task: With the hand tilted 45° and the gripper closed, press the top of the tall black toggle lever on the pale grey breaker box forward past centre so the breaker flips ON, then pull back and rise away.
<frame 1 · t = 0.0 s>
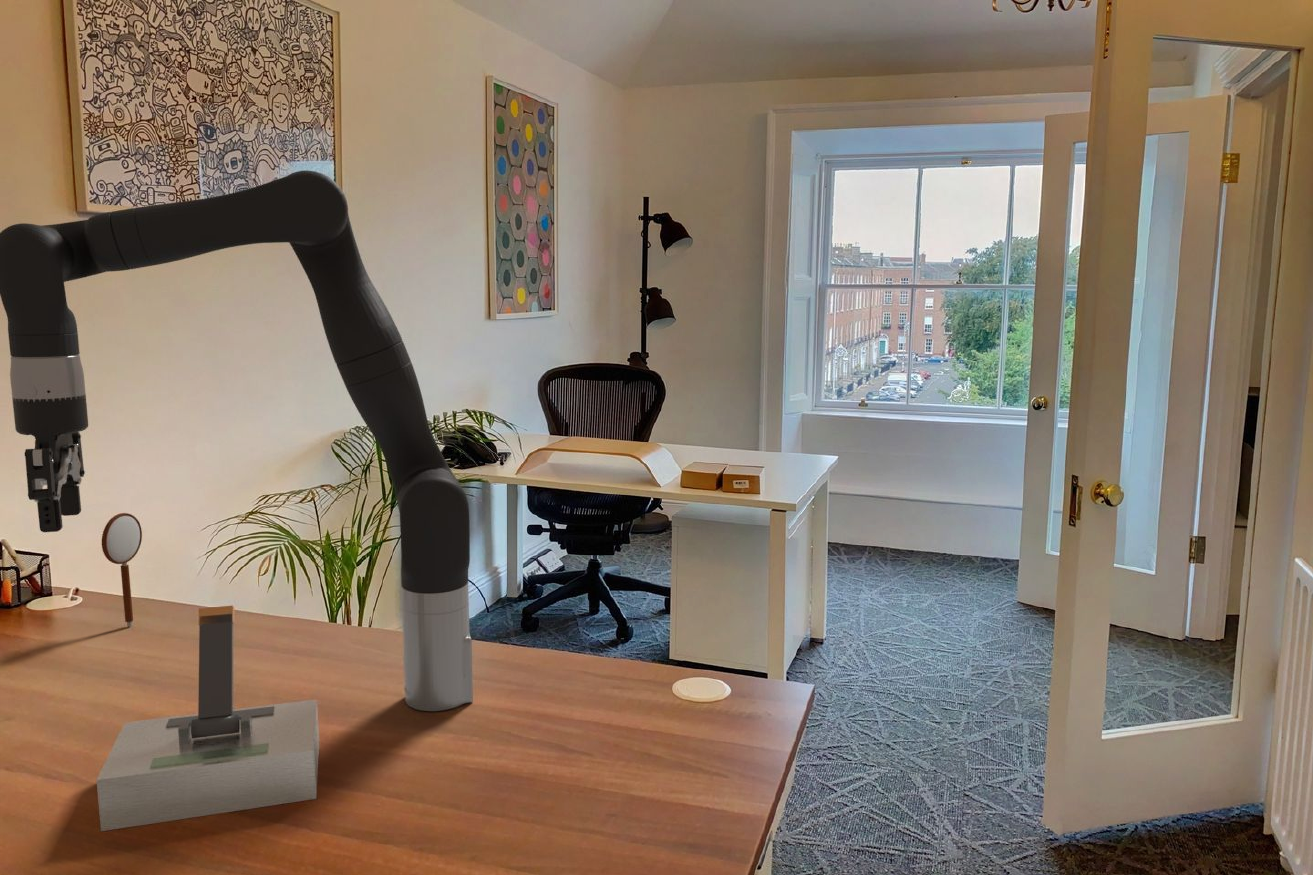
hand: (61, 522, 116), 29 cm above the table, fingers open, 8 cm apart
breaker box: (219, 782, 112), on the table
breaker lever: (216, 670, 113), point 13 cm above the table, hinge at -30.0°
magnifying glass: (129, 627, 161), on the table
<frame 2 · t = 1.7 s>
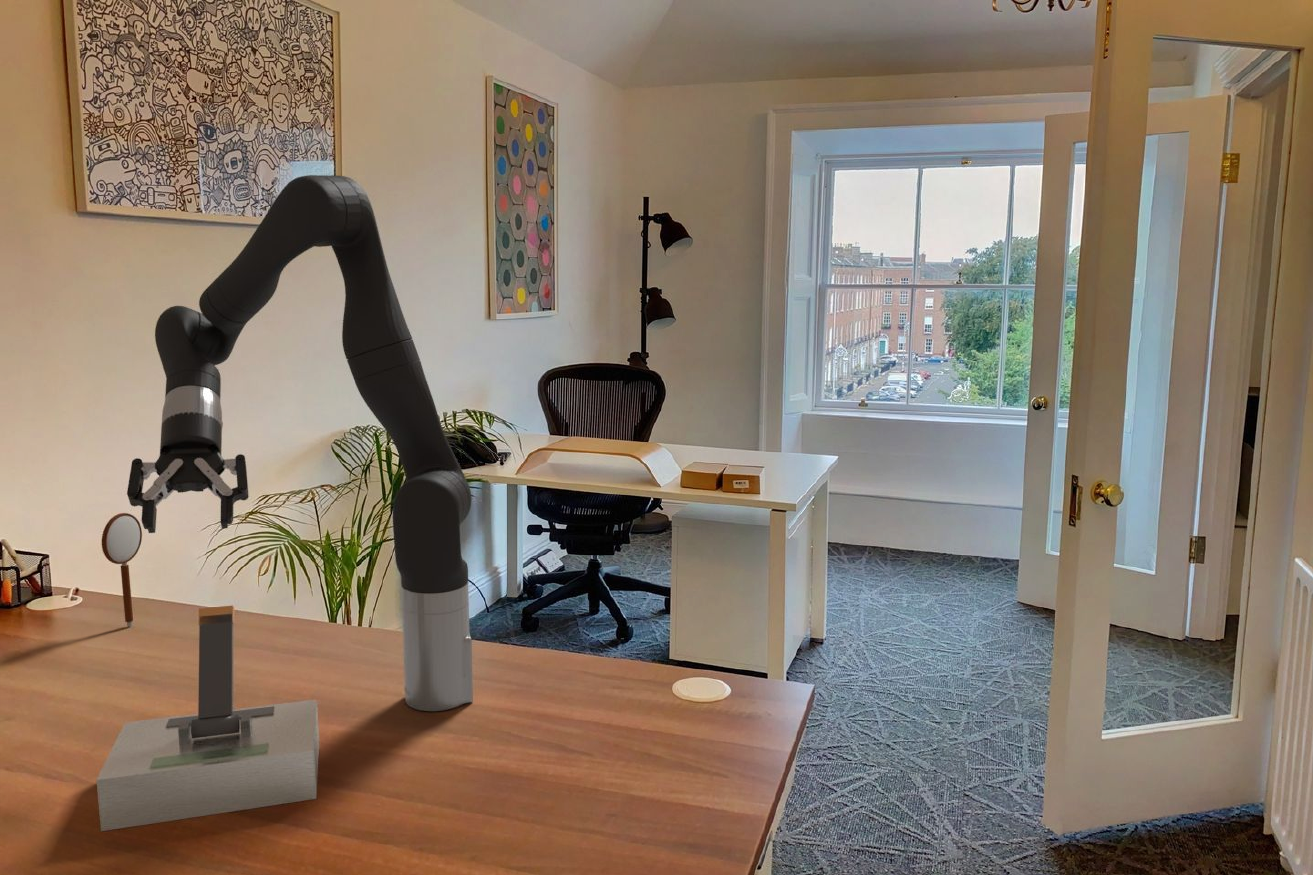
hand: (188, 527, 121), 27 cm above the table, fingers open, 8 cm apart
nothing on the table moved.
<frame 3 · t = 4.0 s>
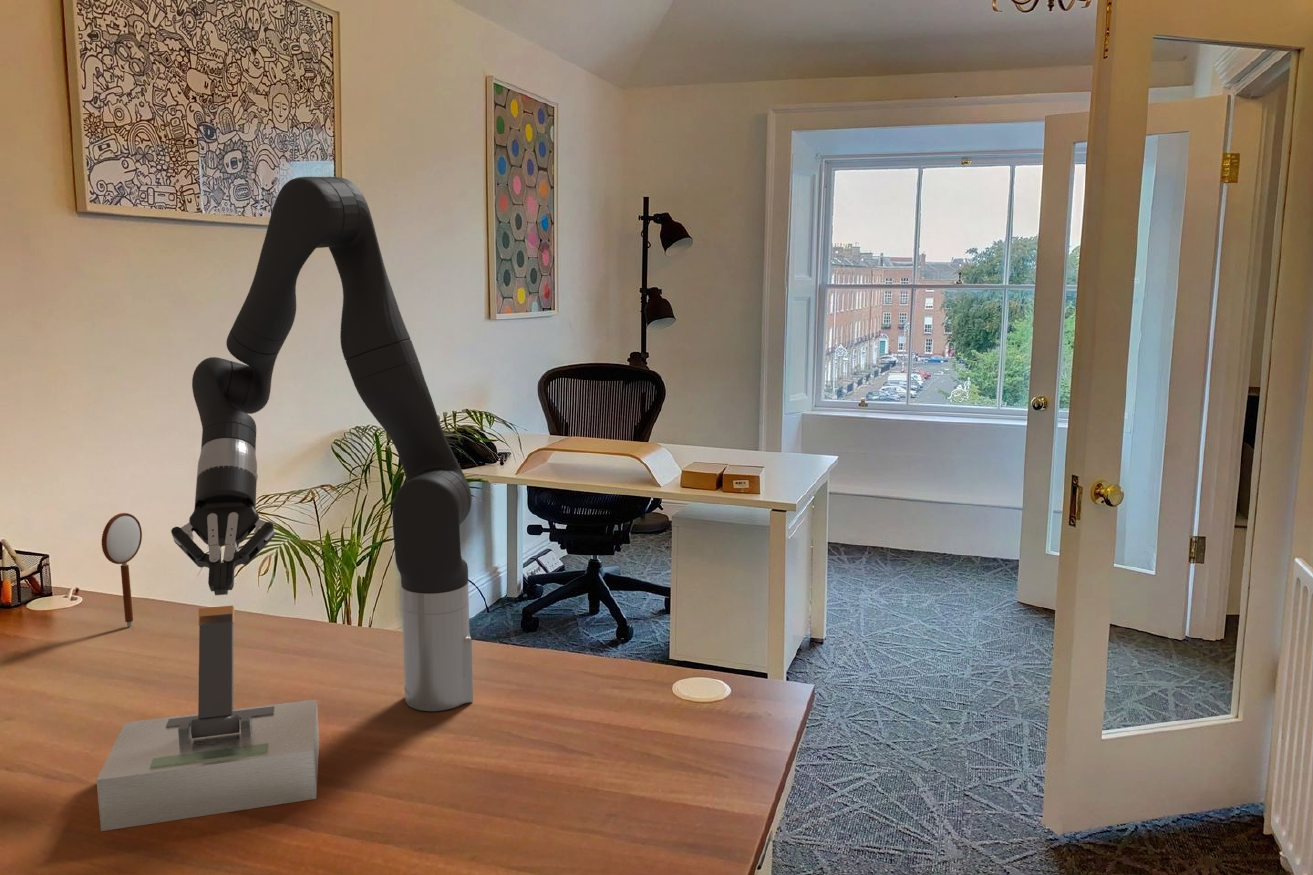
hand: (220, 592, 120), 20 cm above the table, fingers closed
nothing on the table moved.
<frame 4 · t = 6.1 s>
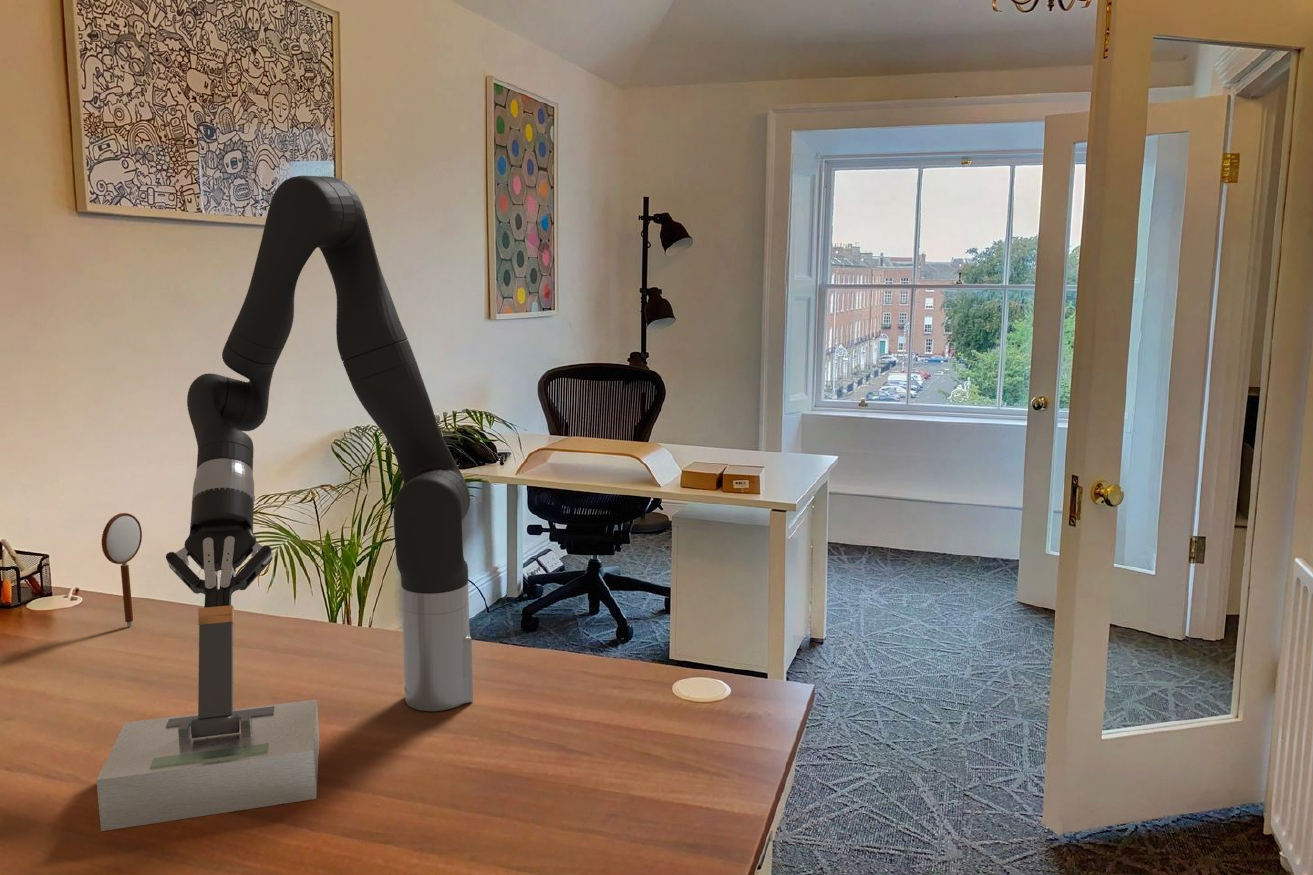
hand: (217, 619, 116), 18 cm above the table, fingers closed
breaker lever: (216, 670, 112), point 13 cm above the table, hinge at -28.9°, touching gripper
everything else where it was.
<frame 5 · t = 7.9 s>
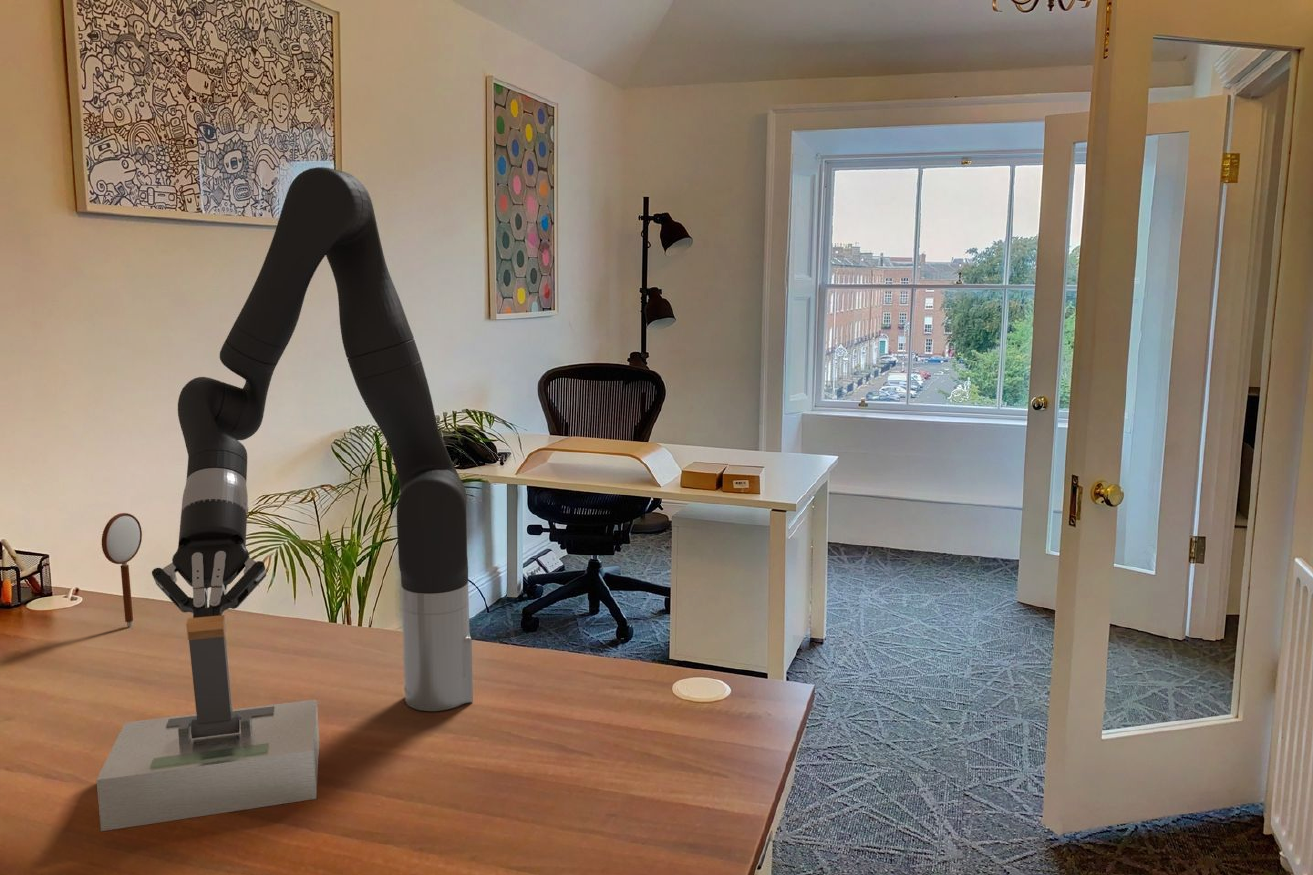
hand: (206, 640, 108), 18 cm above the table, fingers closed
breaker lever: (211, 677, 109), point 14 cm above the table, hinge at 8.3°, touching gripper
everything else where it was.
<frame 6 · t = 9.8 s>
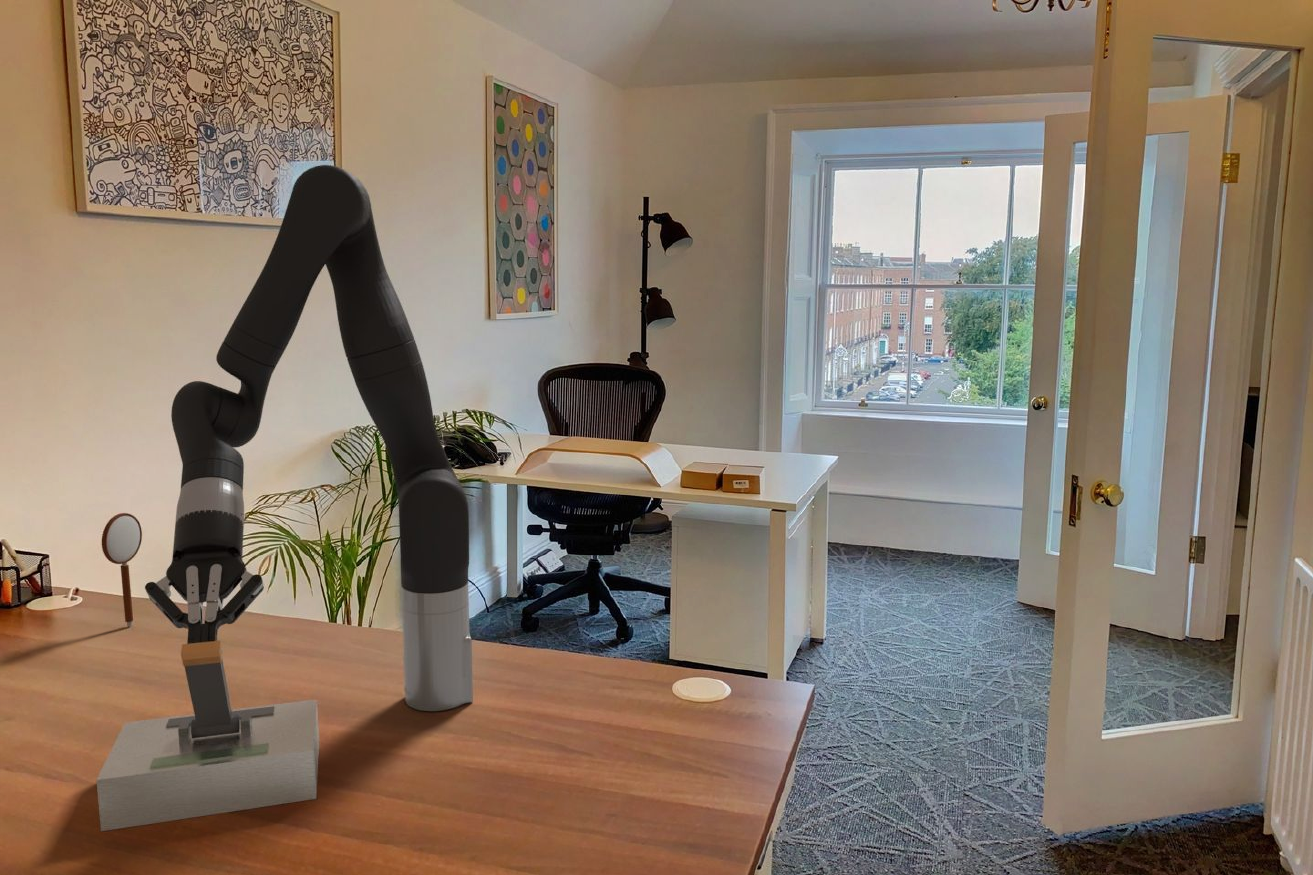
hand: (201, 658, 104), 18 cm above the table, fingers closed
breaker lever: (209, 691, 107), point 13 cm above the table, hinge at 28.3°, touching gripper
everything else where it was.
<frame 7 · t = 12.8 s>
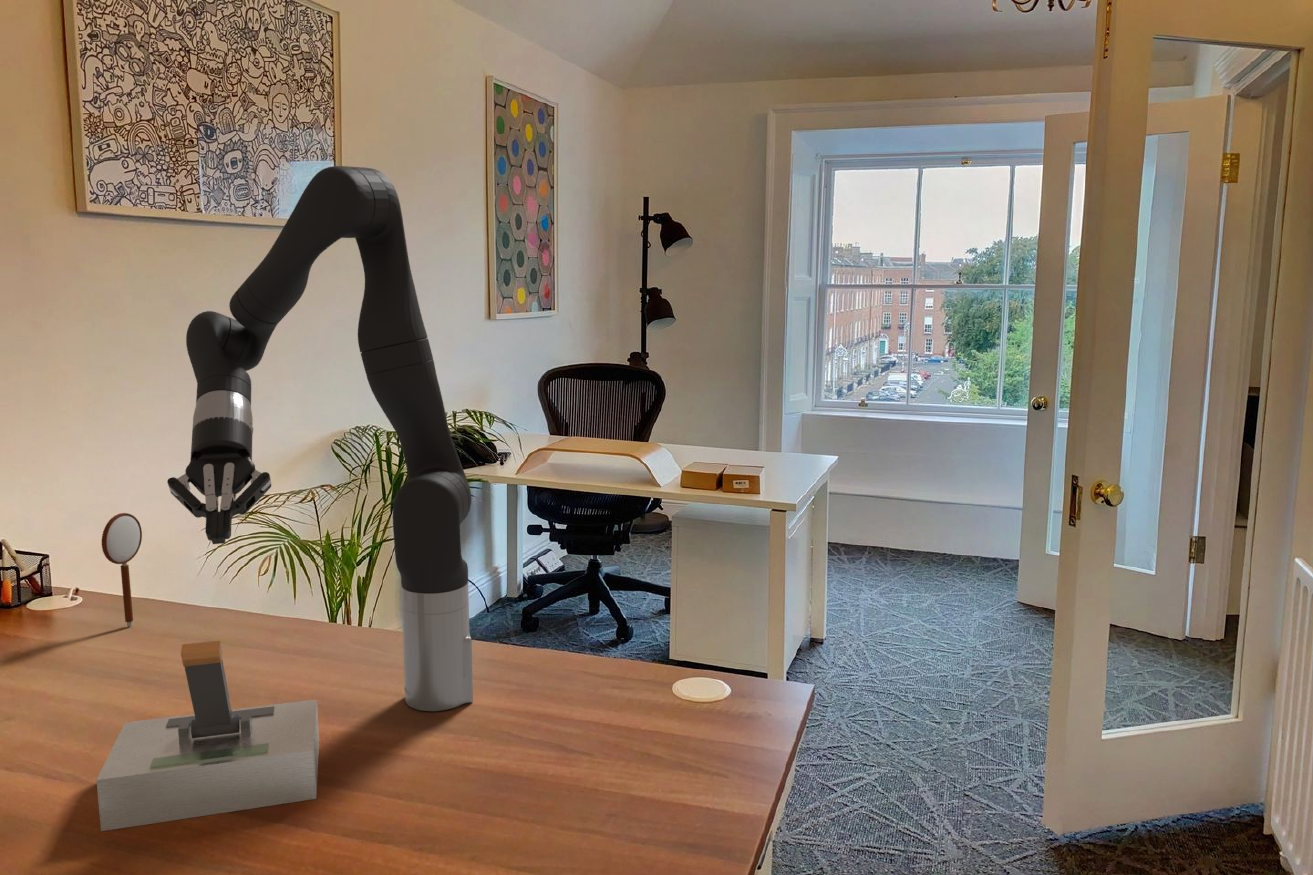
hand: (218, 540, 119), 26 cm above the table, fingers closed
breaker lever: (209, 691, 107), point 13 cm above the table, hinge at 28.3°
everything else where it was.
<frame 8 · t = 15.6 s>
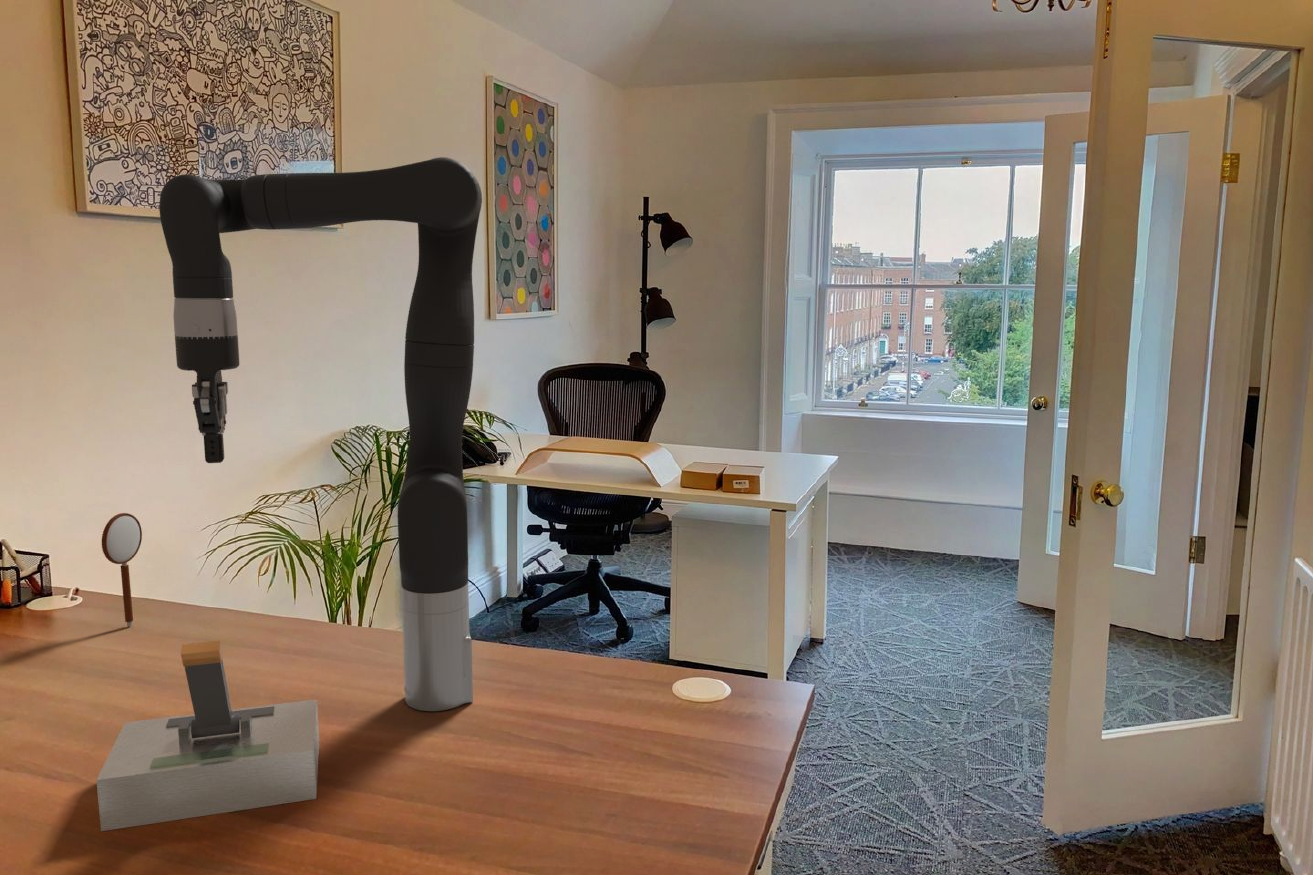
hand: (215, 461, 126), 35 cm above the table, fingers closed
nothing on the table moved.
at the end: breaker lever at +28° (first picture: -30°) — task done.
